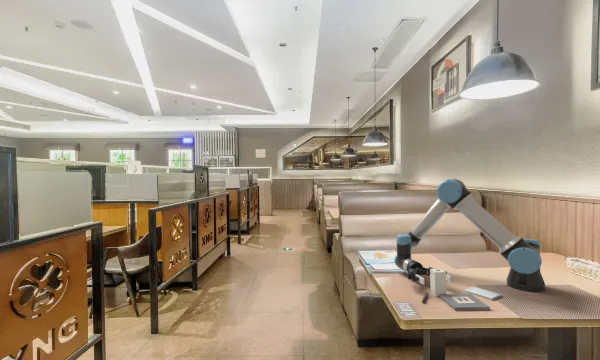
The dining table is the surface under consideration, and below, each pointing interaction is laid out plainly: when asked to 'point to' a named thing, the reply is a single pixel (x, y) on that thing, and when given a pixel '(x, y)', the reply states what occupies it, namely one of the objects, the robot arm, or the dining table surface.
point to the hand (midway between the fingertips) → (437, 280)
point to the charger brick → (438, 282)
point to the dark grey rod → (425, 297)
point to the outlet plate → (463, 302)
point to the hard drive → (483, 293)
